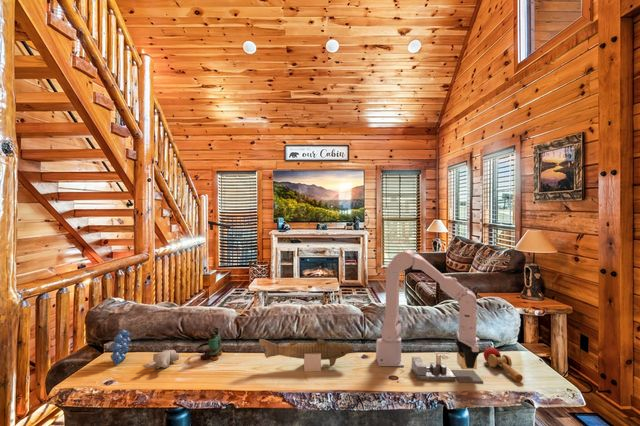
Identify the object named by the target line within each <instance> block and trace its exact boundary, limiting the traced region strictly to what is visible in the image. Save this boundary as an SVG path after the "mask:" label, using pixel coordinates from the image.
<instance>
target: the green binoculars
mask: <svg viewBox="0 0 640 426" xmlns="http://www.w3.org/2000/svg"><path fill="white" fill-rule="evenodd" d="M209 336H210V338H209V339H208V342H203V343H201V344H199V345H198V346H197V347H196V353H198V354H201V355H200V360H206V359H211V360H213V361H218V360H219V359H220V358H219V356H222V355H223V351H222V350H221V349H222V340H221V339H222V338H221V334H220V328H219V327H215V328H213V332H211V333H209ZM204 346H208V348H206V349H204V350H199V349H200V348H202V347H204Z"/></svg>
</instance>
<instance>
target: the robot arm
mask: <svg viewBox="0 0 640 426" xmlns="http://www.w3.org/2000/svg"><path fill="white" fill-rule="evenodd" d="M411 267H412V268H411ZM410 268H411V269H412V270H421V271H422V272H424V273H425V274H426V275H427V276H429V277H430V278H431V279H433V281H436V282H437V283H438V284H439V287H440V288H439V289H440V290H442V292H444V293H445V294H447V295H448V296H449V297H450V298H452V300H454V301H456V302H457V303H458V306H459V311H458V330H456V337H457V338H456V339H454V342H455V344H456V347H457V350H458V351H457V352H464V354H465V359H466V366H467V368H474V365H475V361H476V358H477V359H478V356H479V355H480V353H481V349H480V346H479V345H478V342H480V338H478V337H477V313H476V312H477V308H476V307H477V305H478V303H477V300H478V299H477V296H476V294H475V292H473V290H471V289H469V287H467V286H466V287H465V286H464V285H462V284H461V283H460V282H458V279H457V278H456V277H452V276H450V275H449V276H445V275H444V274H443V273H442V272H441V271H439V270H438V269H437V268H436V267H435V266H433V265H432V264H431V263H430V262H429V261H427V260H426V258H424V257H423V256H421V255H420V254H418V253H417V252H415V250H413V249H405V250H403V251H401V252H399V253H397V254H396V255H394V256H393V258H392V260H391V261H390V263H389V264H388V265H387V267H386V269H385V315H384V319H383V325H382V328H381V329H380V336H381V337H380V338H376V341H375V342H376V345H375V346H376V349H375V350H376V351H375V353H376V354H375V358H376V361H377V365H378V366H379V367H404V366H405V365H404V362H403V361H402V337H401V333H402V332H403V324H402V322H401V316H400V274H401V273H402V272H403V271H404V270H407V269H410Z"/></svg>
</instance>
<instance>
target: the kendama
mask: <svg viewBox="0 0 640 426" xmlns="http://www.w3.org/2000/svg"><path fill="white" fill-rule="evenodd" d="M483 358H484V360H485V362H487V363H488V365H489V367H492V368H495V367H497V366H501V368H502V369H503V370H504V371H505V372H506V373H507V374H508V375H509V376H510V377H511V378H512V380H514V381H515V382H516V383H521V382H522V381H523V378H524V377H523V375H522V374H521V373H519V372H518V371H517V370H515V369H514V368H512V365H513V364H512V363H513V362H512V359H511V357H510V356H509V355H508V354H503V355H502V356H501V352H500V351H499V350H498V349H497V348H494V347H490V346H489V347H487V348H485V349H484V350H483Z"/></svg>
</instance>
